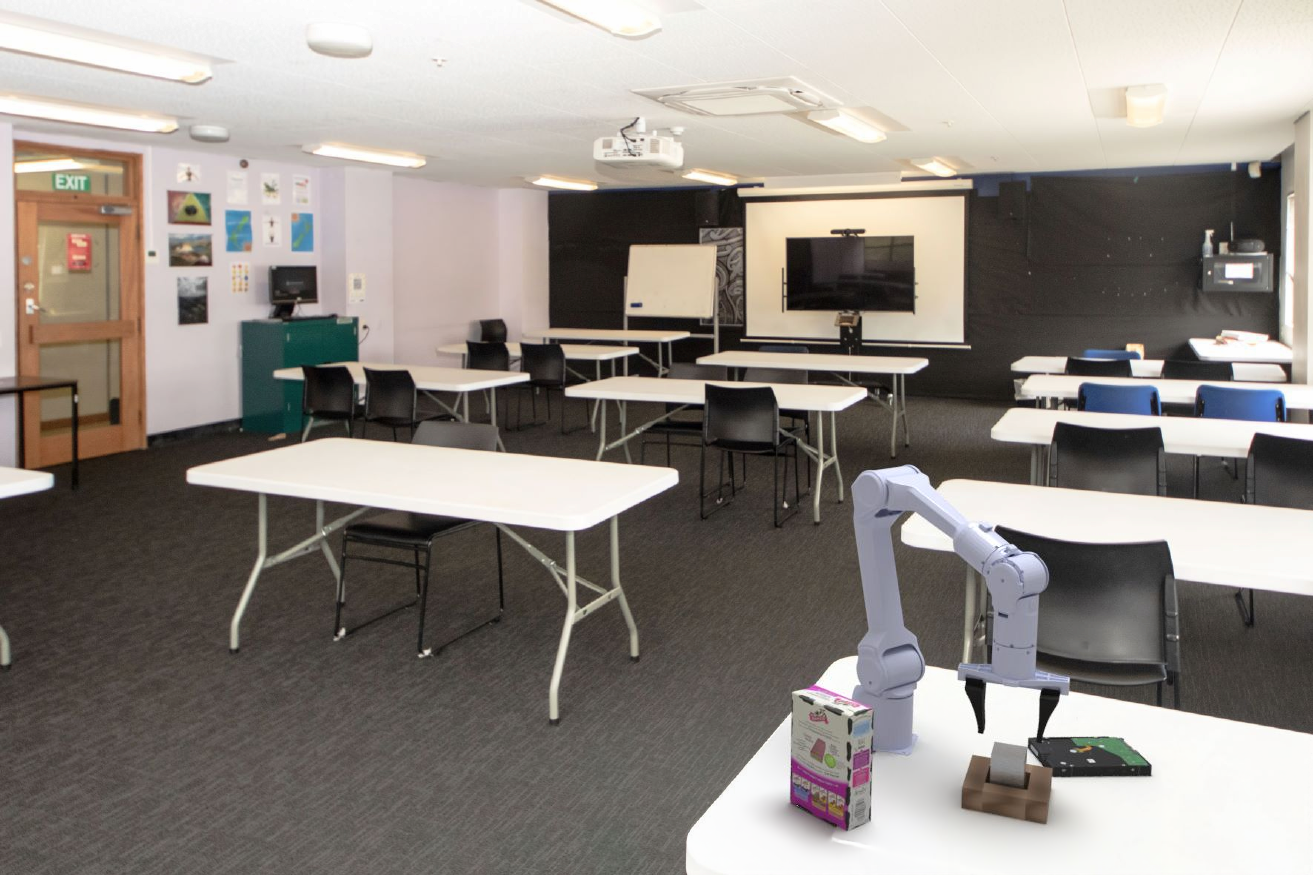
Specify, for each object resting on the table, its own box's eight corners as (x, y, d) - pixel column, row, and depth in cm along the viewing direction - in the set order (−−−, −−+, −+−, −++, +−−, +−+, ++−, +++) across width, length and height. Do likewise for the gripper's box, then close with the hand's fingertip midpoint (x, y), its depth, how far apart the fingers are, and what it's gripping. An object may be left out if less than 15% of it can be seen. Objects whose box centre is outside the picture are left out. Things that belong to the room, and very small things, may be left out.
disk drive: (1052, 785, 153) (1152, 782, 153) (1053, 767, 153) (1153, 764, 153) (1026, 753, 163) (1119, 750, 164) (1026, 736, 163) (1120, 733, 163)
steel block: (988, 801, 146) (991, 754, 145) (992, 787, 150) (994, 741, 149) (1022, 807, 144) (1024, 759, 143) (1024, 793, 148) (1027, 746, 147)
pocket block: (961, 811, 144) (962, 787, 144) (971, 776, 154) (972, 754, 154) (1046, 827, 140) (1047, 802, 139) (1051, 791, 150) (1052, 768, 149)
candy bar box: (873, 823, 141) (876, 707, 139) (847, 835, 138) (850, 716, 136) (813, 791, 150) (815, 682, 147) (788, 802, 147) (789, 690, 144)
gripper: (955, 643, 143) (952, 737, 145) (1069, 658, 137) (1064, 756, 139) (963, 628, 149) (959, 718, 151) (1072, 641, 143) (1067, 735, 145)
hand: (1010, 735), depth 145 cm, fingers open, 7 cm apart
